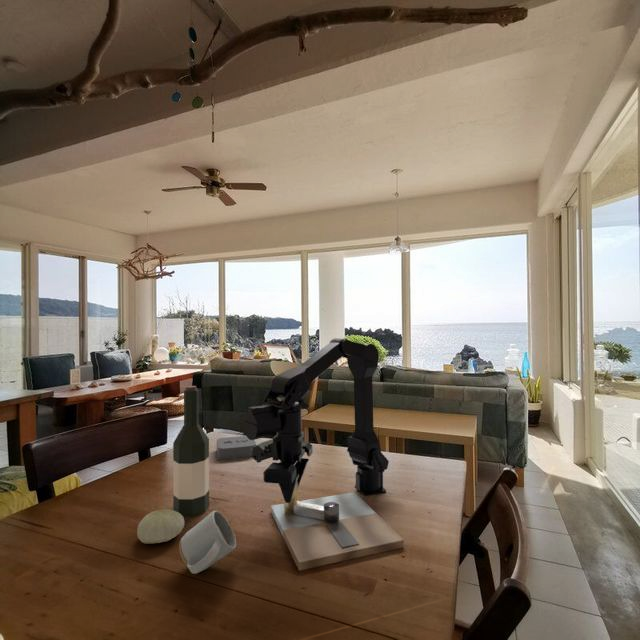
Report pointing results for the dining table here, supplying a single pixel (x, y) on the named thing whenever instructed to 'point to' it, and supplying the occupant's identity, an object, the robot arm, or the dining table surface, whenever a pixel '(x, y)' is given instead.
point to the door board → (335, 532)
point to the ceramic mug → (207, 542)
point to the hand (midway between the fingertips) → (291, 497)
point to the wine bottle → (191, 461)
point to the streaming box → (234, 448)
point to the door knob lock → (312, 509)
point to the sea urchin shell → (160, 526)
